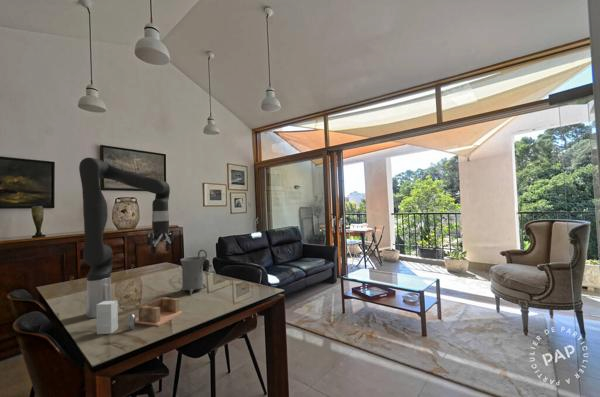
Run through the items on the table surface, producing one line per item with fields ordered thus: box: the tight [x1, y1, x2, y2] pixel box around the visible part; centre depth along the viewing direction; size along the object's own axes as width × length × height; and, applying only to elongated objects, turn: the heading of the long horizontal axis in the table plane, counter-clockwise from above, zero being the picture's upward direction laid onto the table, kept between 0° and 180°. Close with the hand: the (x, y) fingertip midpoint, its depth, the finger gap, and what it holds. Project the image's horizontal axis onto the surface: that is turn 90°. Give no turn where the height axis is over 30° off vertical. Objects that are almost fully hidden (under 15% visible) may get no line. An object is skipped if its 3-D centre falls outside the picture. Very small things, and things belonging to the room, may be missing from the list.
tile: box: [135, 310, 184, 327], centre depth 121 cm, size 15×14×1 cm
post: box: [127, 313, 136, 331], centre depth 110 cm, size 2×2×6 cm
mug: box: [179, 249, 208, 296], centre depth 158 cm, size 19×15×25 cm
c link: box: [138, 296, 180, 323], centre depth 121 cm, size 10×13×6 cm
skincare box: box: [96, 300, 119, 335], centre depth 108 cm, size 6×4×12 cm
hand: (161, 252), depth 131 cm, fingers open, 8 cm apart
